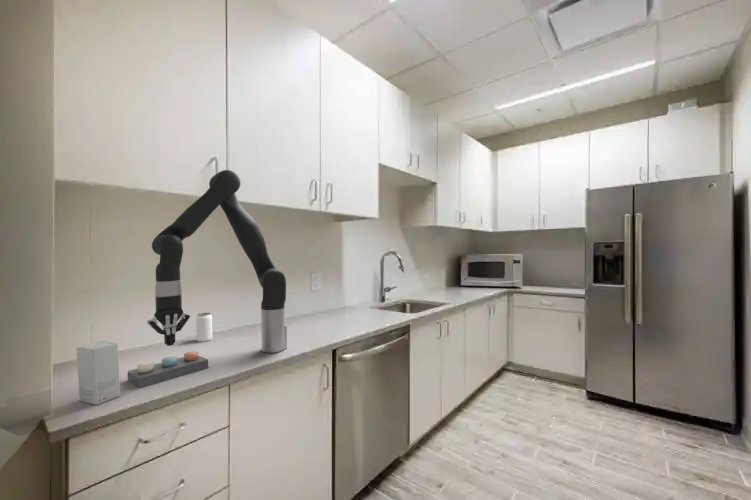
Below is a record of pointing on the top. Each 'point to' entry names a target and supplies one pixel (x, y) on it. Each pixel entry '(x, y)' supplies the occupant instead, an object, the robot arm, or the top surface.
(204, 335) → the can
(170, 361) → the teal button
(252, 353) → the top surface
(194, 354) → the terracotta button
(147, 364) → the cream button
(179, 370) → the console
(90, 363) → the skincare box
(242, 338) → the top surface
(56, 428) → the top surface
